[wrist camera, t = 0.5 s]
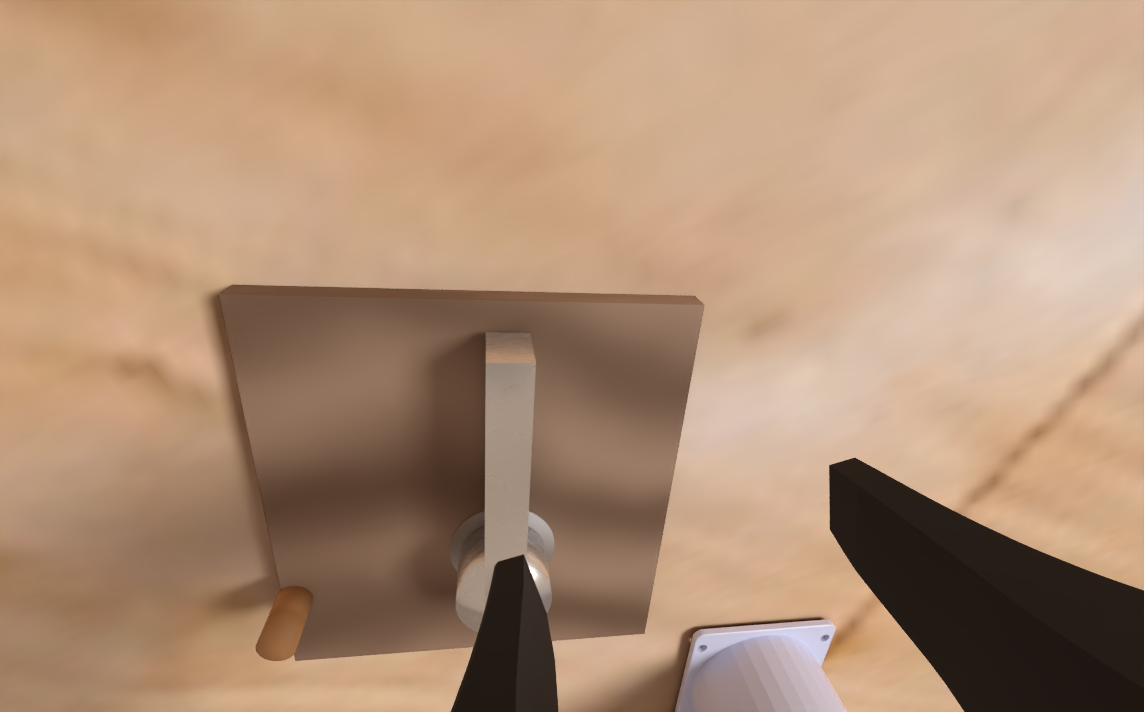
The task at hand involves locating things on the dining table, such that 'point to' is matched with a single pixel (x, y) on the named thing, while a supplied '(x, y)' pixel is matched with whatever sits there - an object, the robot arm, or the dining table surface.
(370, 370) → the base board
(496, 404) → the cap handle
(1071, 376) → the dining table surface
